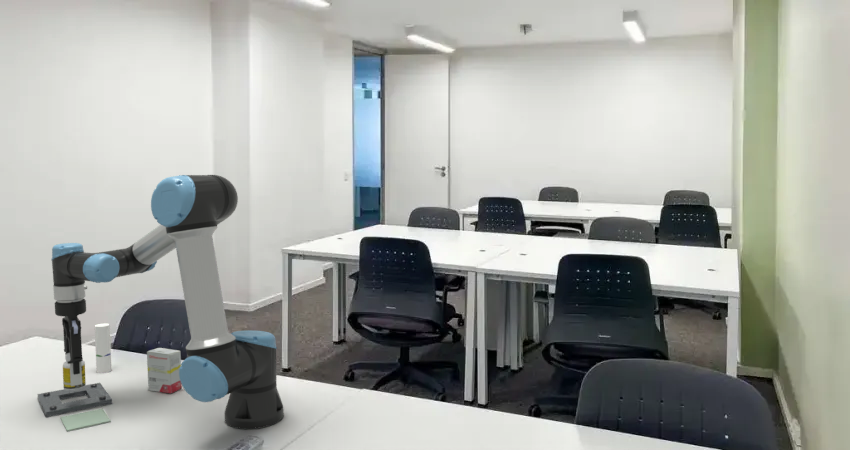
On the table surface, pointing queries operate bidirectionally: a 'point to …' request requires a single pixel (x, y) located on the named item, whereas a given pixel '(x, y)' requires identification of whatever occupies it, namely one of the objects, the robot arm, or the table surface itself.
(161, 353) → the ink box
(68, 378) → the supplement bottle
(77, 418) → the mat
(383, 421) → the table surface
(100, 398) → the grey mounting plate
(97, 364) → the tube
